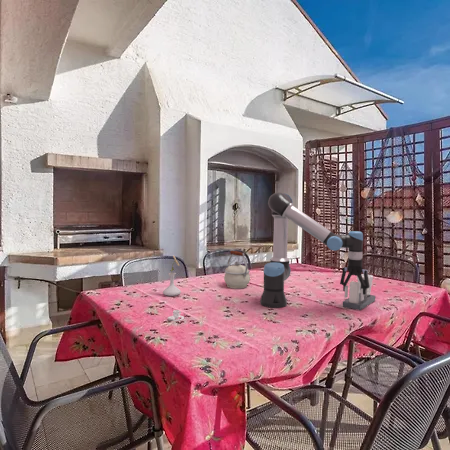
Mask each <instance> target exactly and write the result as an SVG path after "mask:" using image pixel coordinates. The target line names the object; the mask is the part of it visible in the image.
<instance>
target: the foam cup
mask: <svg viewBox="0 0 450 450" xmlns="http://www.w3.org/2000/svg"><path fill="white" fill-rule="evenodd" d="M361 275H362V277H364V273H361ZM368 277H369V278H370V287H369V295H371V292H372V284H373V280H374V275H372V274H368ZM356 279H357V282H359V293H360V285H361V283H360V281H359V278H358V277H357V276H356Z"/></svg>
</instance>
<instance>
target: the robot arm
mask: <svg viewBox="0 0 450 450" xmlns="http://www.w3.org/2000/svg"><path fill="white" fill-rule="evenodd" d="M267 205H268V208H269V209H270V210H271V216H272V217H273V241H272V242H273V244H272V247H273V249H272V257H271V258H270V260H269V261H270V262H267V263H266V264H264V267H263V292H262V294H261V298H260V299H259V300H260V303H259V304H260V305H261V306H263V307H267V308H276V309H277V308H278V309H280V308H284V307H286V306H287V305H288V303H287V297H286V294H285V281H286V280H287V279H289V277H290V276H291V269H292V268H291V266H290V259H289V258H288V240H289V239H288V235H289V220H290V221H291V222H292V223H293V224H295V225H297V227H299V228H301V229H302V230H304V231H305V232H307V233H308V234H309V235H311V236H312V237H314V238H315V239H317V240H318V241H320V242H321V243H323V244H324V245H325V246H326V247H327V248H328V249H329V250H330V251H334V252H335V251H338V250H339V251H340V250H341V249H347V251H348V253H347V254H348V255H347V257H348V259H347V267H345V266H343V267H342V268H341V269H342V273H341V277H340V282H339V284H340V285H342V288H343V289H342V291H343V292H344V299H345V298H349V296H348V295H349V294H348V293H349V286H348V283H349V282H350V279H351V277H352V276H356V278H357V277H358V278H359V281H360V283H361V285H362V289H361V301H363V300H364V295H365V294H366V288H369V287H370V285H369V280H368V275H369V269H363V251H364V250H363V249H364V248H363V247H364V234H363V232H362V231H360V230H359V231H357V230H355V231H353V230H352V231H349V232H348V234H336V233H334V232H332V231H331V230H330V229H328V228H327V227H325V226H323V225H322V224H321V223H319V222H318V221H316V220H315V219H313V218H312V217H310V216H309V215H308V214H306V213H305V212H303V211H302V210H300V209H299V208H298V207H296V206H295V205H294V202H293V199H292V197H291V196H290V195H289V194H287V193H283V192H275V193H273V194H271V195H270V196H269V198H268V202H267ZM347 272H348V274H347V276H346V273H347ZM361 274H364V278H365V283H364V281H363V278H362V275H361ZM365 284H366V285H365Z"/></svg>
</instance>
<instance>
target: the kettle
mask: <svg viewBox="0 0 450 450" xmlns="http://www.w3.org/2000/svg"><path fill="white" fill-rule="evenodd" d="M229 253H230V256H229V258H228V260H227V267H226V268H225V270H224V276H223V279H224V282H225V284H226V287H227V288H230V289H235V290H237V289H245V288H247V287H248V285H249V283H250V281H251V277H250V270H249V269H248V264H247V261H246V259H245V256H246V255H245V252H241V251H236V250H235V251H234V250H230V251H229ZM233 255H235V256H238V257H239V256H240V257H242V261H243V263H244V265H242V264H241V263H240V262H239V261H238V260H237V261H235V262H234V264H232V265H230V261H231V260H232V257H233Z"/></svg>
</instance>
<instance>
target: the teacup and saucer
mask: <svg viewBox="0 0 450 450" xmlns="http://www.w3.org/2000/svg"><path fill="white" fill-rule="evenodd" d="M181 313H182V311H181V310H180V309H174V310H173V311H172V315H171V316H168V317H167V320H168V321H173V322H175V321H182V320H184V319H185V316H183V315H181ZM179 318H180V319H179Z"/></svg>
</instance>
